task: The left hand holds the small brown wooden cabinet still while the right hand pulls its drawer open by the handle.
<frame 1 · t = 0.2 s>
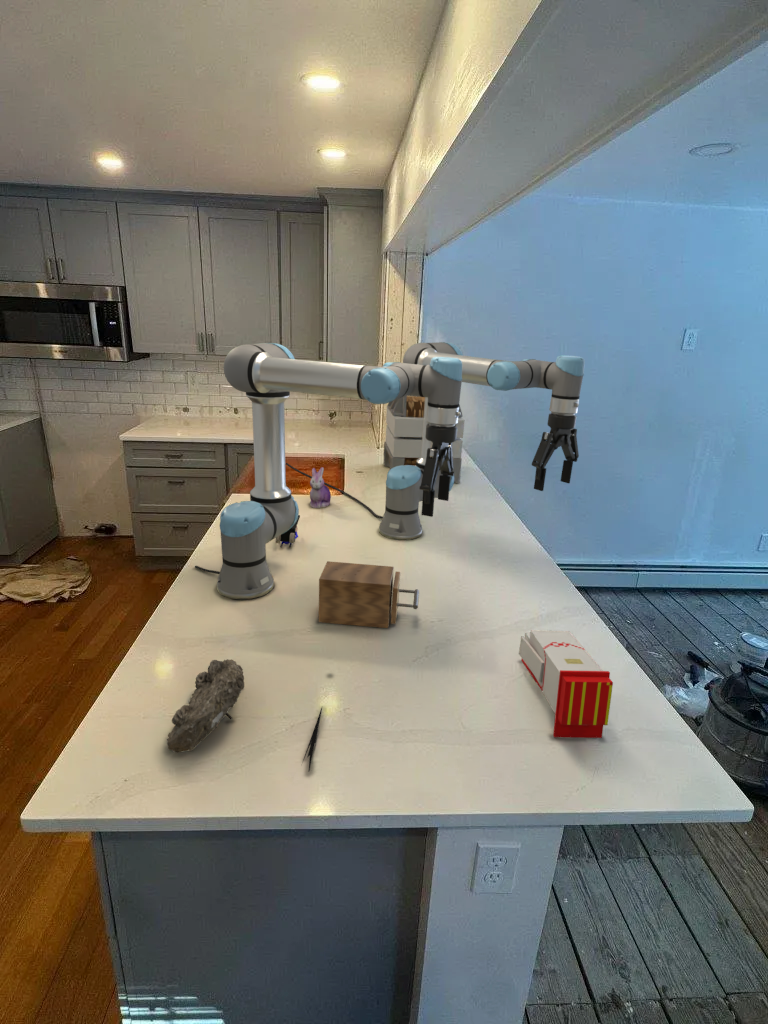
left hand: (435, 507, 143), 28 cm above the counter, tool pointing down, fingers open, 13 cm apart
right hand: (552, 486, 165), 28 cm above the counter, tool pointing down, fingers open, 13 cm apart
figurine: (319, 505, 225), on the counter
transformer: (419, 473, 275), on the counter
feather: (319, 719, 109), on the counter
toy: (554, 692, 120), on the counter
figurine character: (288, 542, 189), on the counter
drawer: (376, 595, 144), point 6 cm above the counter, slide at 0.6 cm
fossil: (212, 717, 108), on the counter
cabinet: (356, 614, 146), on the counter
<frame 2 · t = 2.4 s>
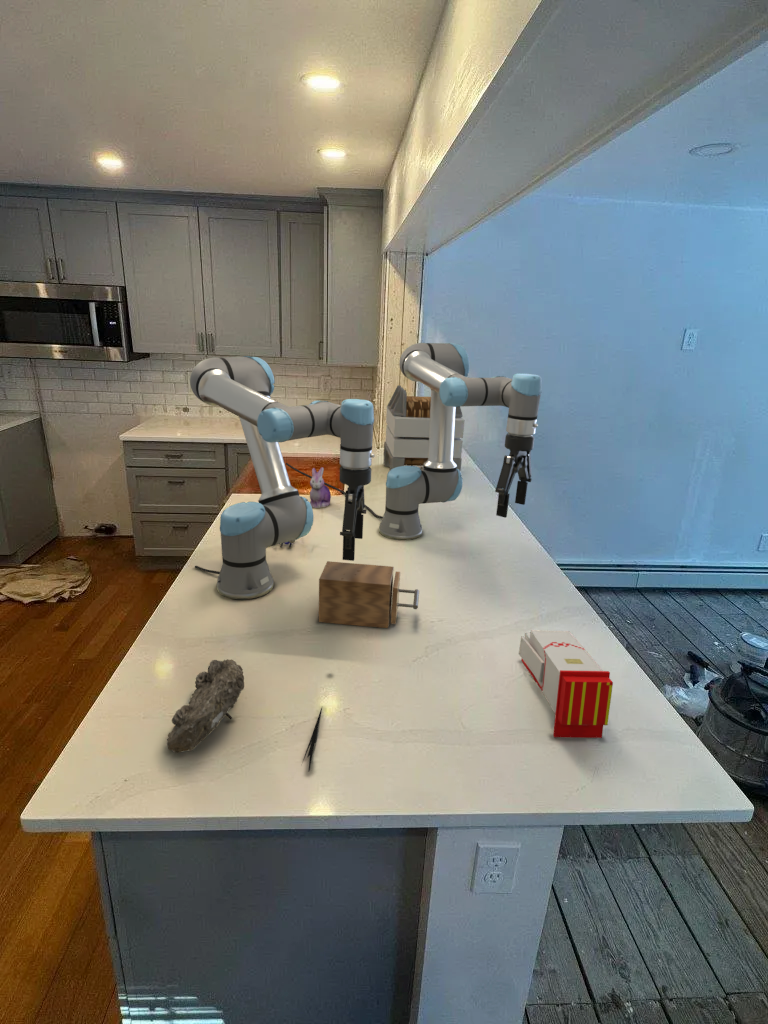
left hand: (353, 548, 141), 18 cm above the counter, tool pointing down, fingers open, 13 cm apart
right hand: (510, 509, 157), 24 cm above the counter, tool pointing down, fingers open, 13 cm apart
nothing on the counter moved.
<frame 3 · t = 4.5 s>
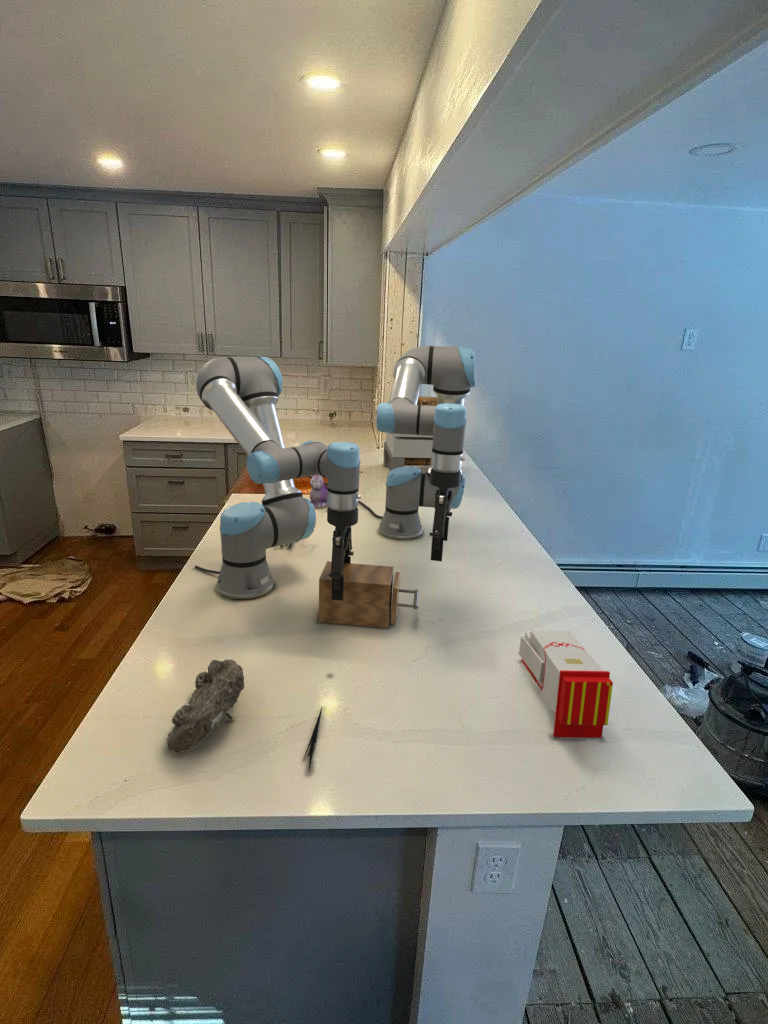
left hand: (341, 588, 144), 7 cm above the counter, tool pointing down, fingers closed on cabinet, 10 cm apart
right hand: (439, 549, 144), 17 cm above the counter, tool pointing down, fingers open, 13 cm apart
cabinet: (356, 614, 146), on the counter, touching left hand
everything else where it was.
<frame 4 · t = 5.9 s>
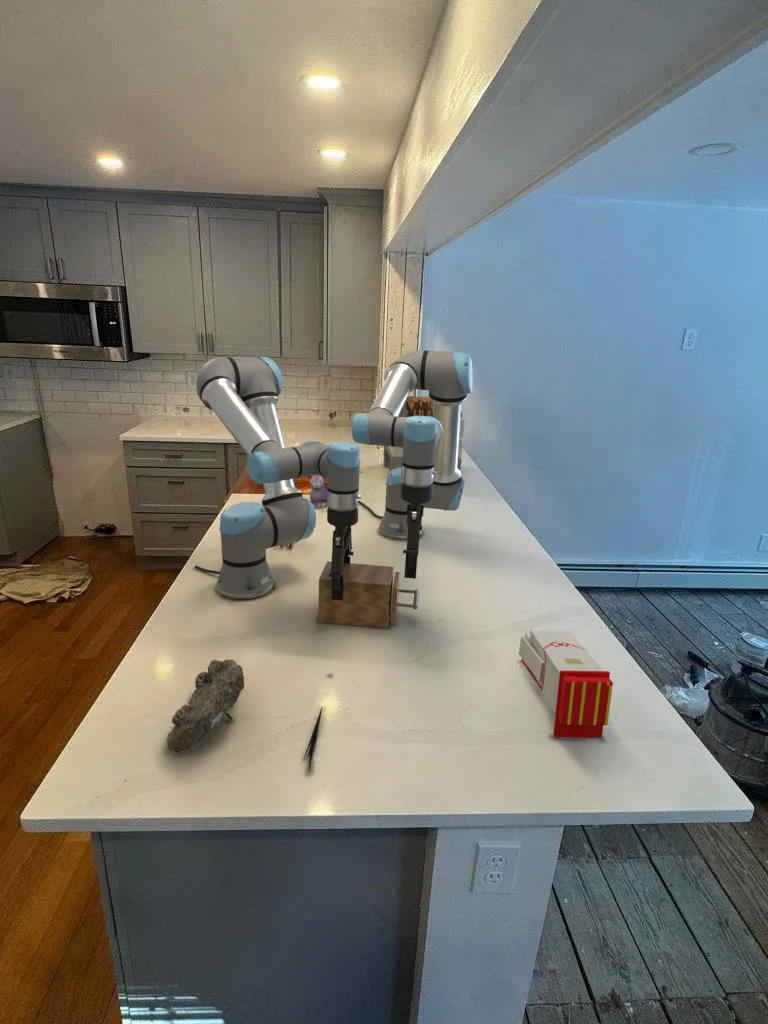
left hand: (341, 588, 144), 7 cm above the counter, tool pointing down, fingers closed on cabinet, 10 cm apart
right hand: (411, 565, 140), 15 cm above the counter, tool pointing down, fingers open, 13 cm apart
cabinet: (356, 614, 146), on the counter, touching left hand
everything else where it was.
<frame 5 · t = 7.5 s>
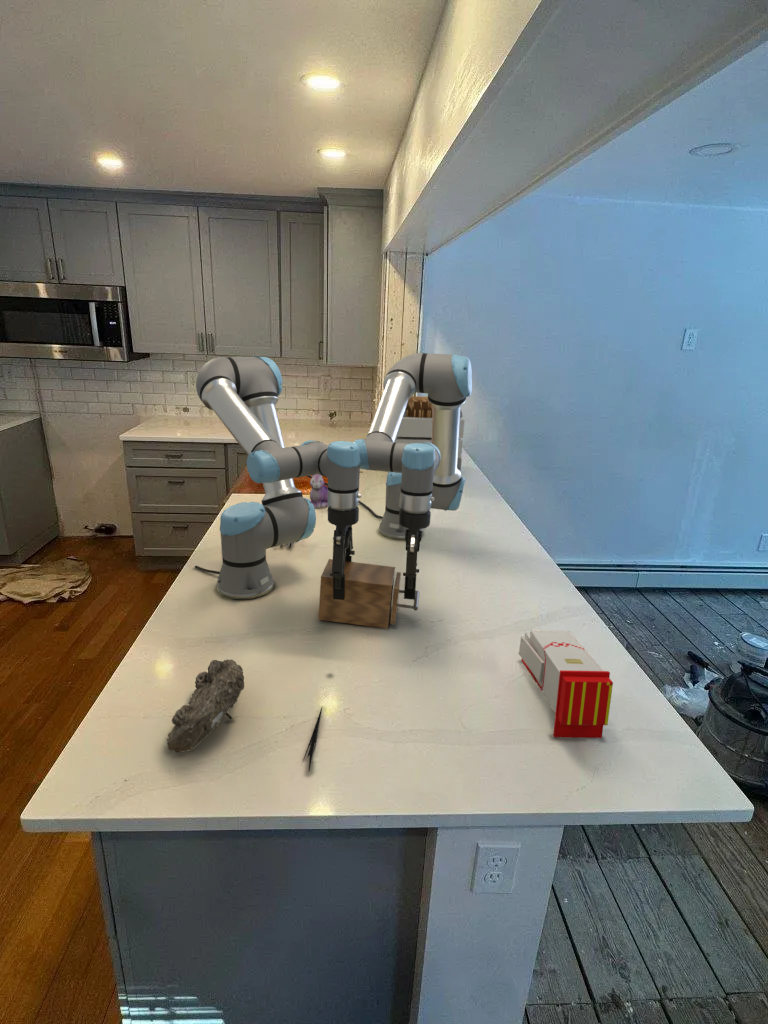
left hand: (342, 588, 144), 7 cm above the counter, tool pointing down, fingers closed on cabinet, 10 cm apart
right hand: (409, 597, 143), 6 cm above the counter, tool pointing down, fingers closed
drawer: (376, 595, 144), point 6 cm above the counter, slide at 0.5 cm, touching right hand
cabinet: (355, 613, 146), on the counter, touching left hand
everything else where it was.
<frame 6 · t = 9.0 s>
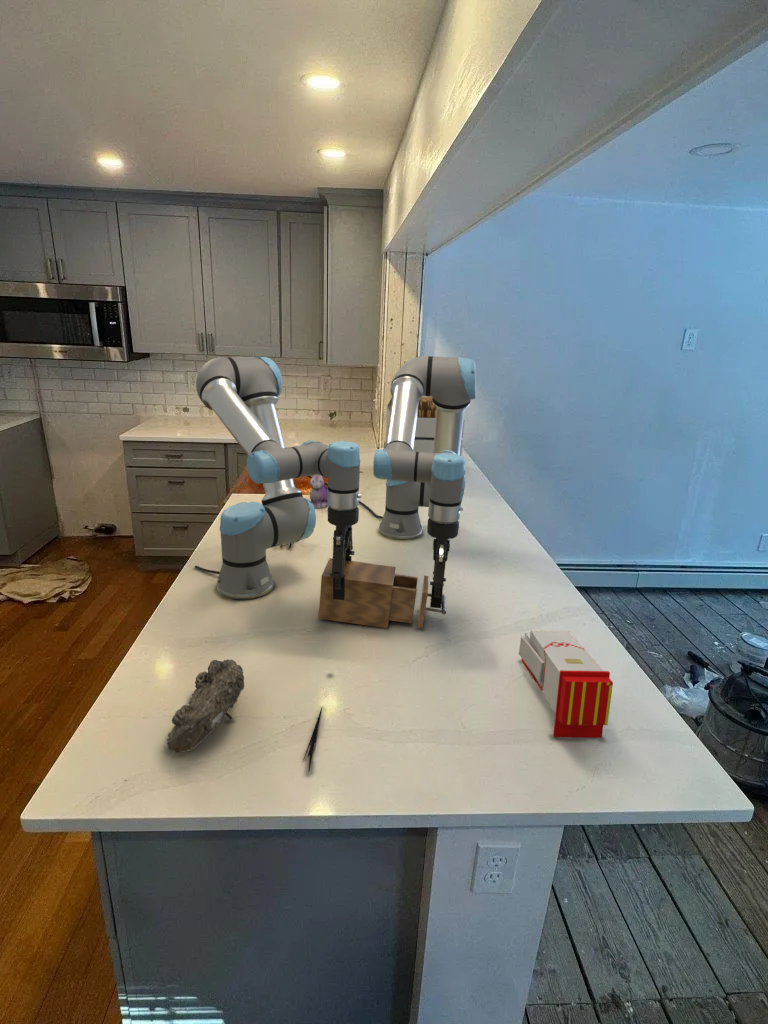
left hand: (342, 588, 144), 7 cm above the counter, tool pointing down, fingers closed on cabinet, 10 cm apart
right hand: (435, 606, 143), 4 cm above the counter, tool pointing down, fingers closed
drawer: (404, 598, 143), point 6 cm above the counter, slide at 7.4 cm, touching right hand
cabinet: (355, 612, 146), point 1 cm above the counter, touching left hand
everything else where it was.
when the left hand's fingers open (7 cm above the counter, at t = 10.8 s): cabinet stays where it is, on the counter.
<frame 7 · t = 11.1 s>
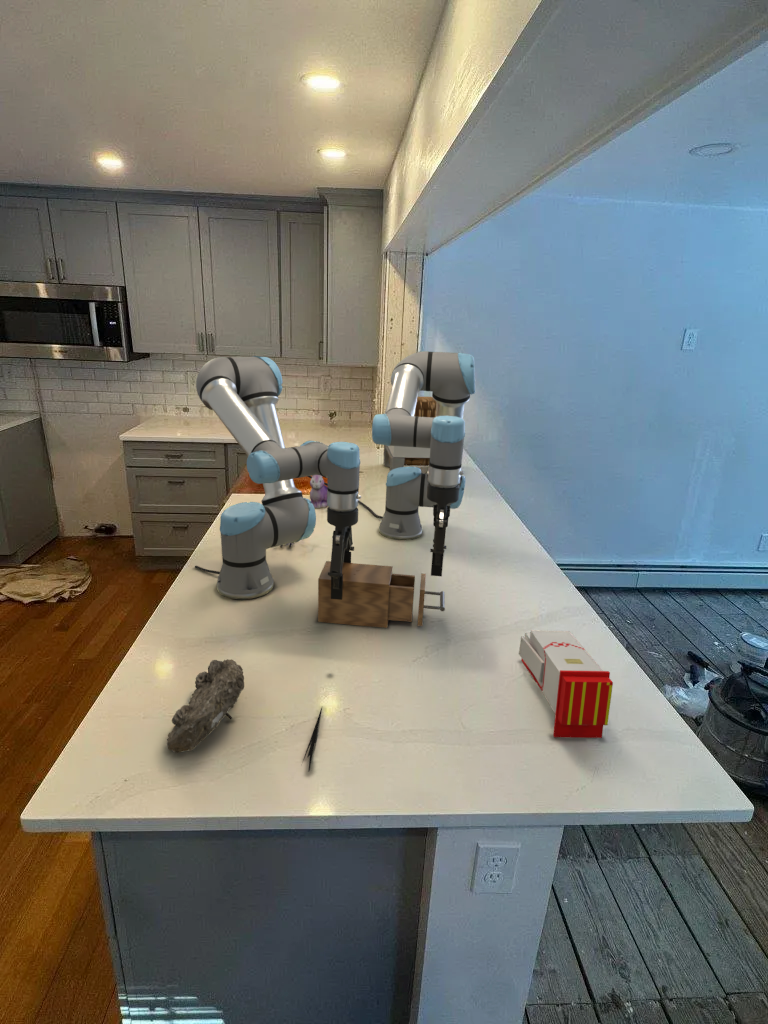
left hand: (341, 586, 144), 8 cm above the counter, tool pointing down, fingers open, 13 cm apart
right hand: (436, 574, 140), 13 cm above the counter, tool pointing down, fingers closed
drawer: (402, 597, 143), point 6 cm above the counter, slide at 7.4 cm
cabinet: (355, 614, 146), on the counter
everything else where it was.
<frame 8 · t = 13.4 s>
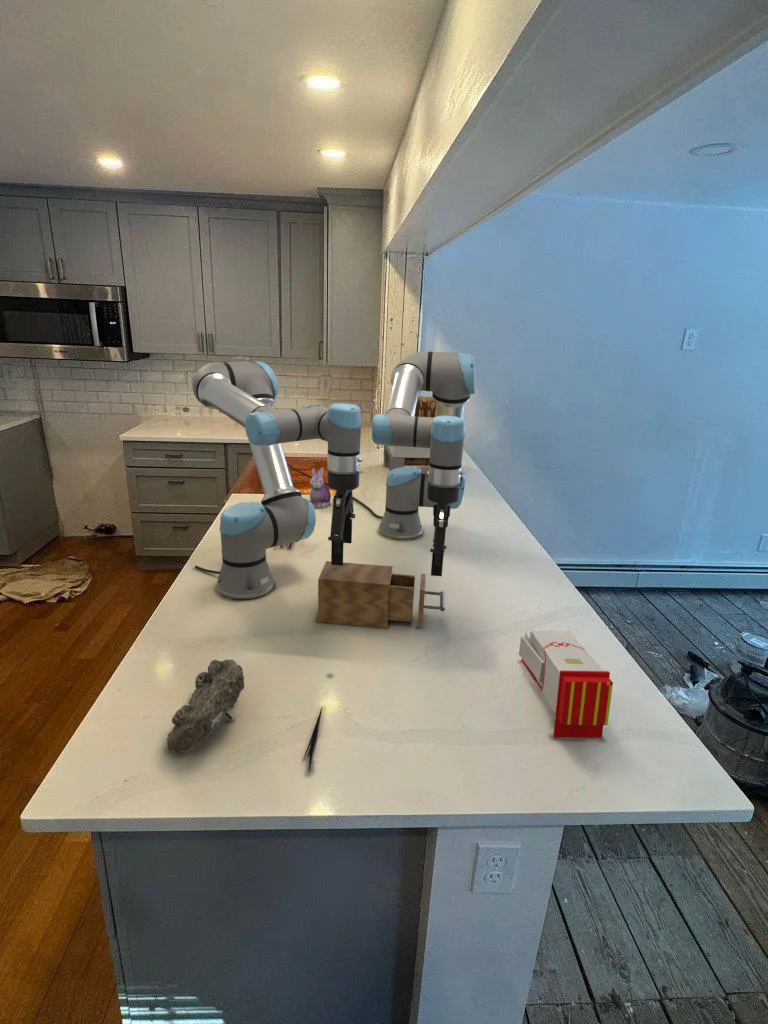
left hand: (341, 553, 141), 17 cm above the counter, tool pointing down, fingers open, 13 cm apart
right hand: (436, 574, 140), 13 cm above the counter, tool pointing down, fingers closed
nothing on the counter moved.
at the end: drawer slide at 7.4 cm; cabinet tilted 0°; cabinet never tilted more than 5° during the clip; cabinet moved 0.3 cm from its start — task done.
